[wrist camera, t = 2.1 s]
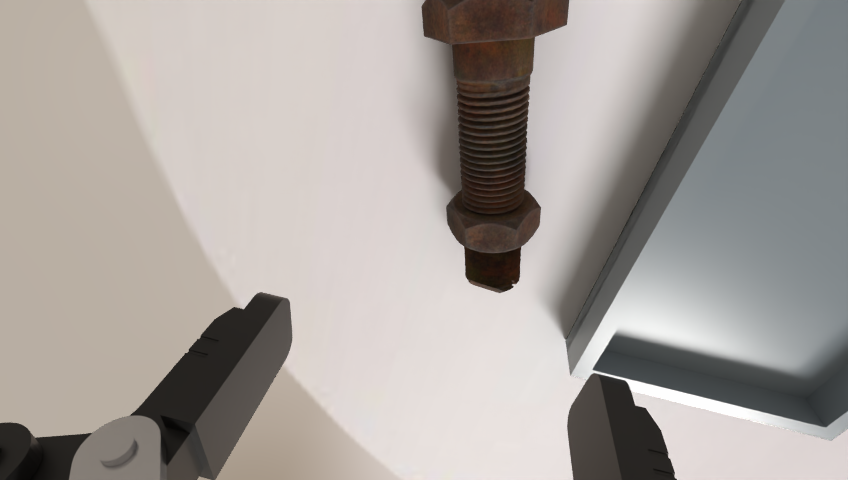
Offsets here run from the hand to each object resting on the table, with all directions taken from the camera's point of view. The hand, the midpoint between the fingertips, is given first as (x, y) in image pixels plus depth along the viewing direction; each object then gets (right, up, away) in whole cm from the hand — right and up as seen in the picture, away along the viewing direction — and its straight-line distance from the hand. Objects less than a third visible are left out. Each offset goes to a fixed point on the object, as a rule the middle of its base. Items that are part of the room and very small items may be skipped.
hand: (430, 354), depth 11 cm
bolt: (+4, +8, +11) cm, 14 cm away
